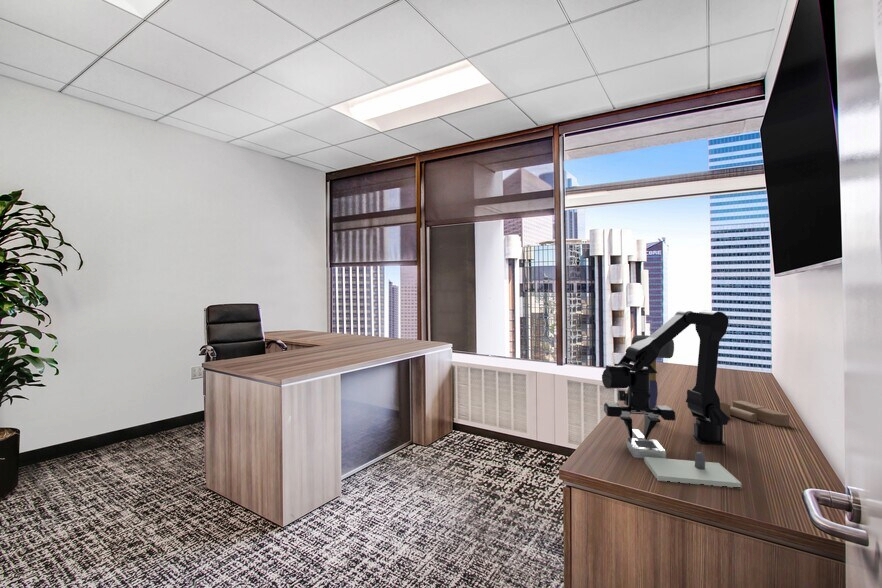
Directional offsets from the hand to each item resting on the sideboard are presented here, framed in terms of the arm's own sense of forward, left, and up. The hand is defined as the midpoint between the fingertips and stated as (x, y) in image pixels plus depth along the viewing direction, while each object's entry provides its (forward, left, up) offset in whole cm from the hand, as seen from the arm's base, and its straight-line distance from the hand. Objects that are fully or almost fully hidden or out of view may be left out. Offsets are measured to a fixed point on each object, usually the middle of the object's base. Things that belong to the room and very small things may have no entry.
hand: (637, 439), depth 122 cm
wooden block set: (-44, -31, -2) cm, 53 cm away
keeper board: (-7, +19, -1) cm, 20 cm away
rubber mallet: (-10, -21, -1) cm, 24 cm away
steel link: (0, +4, -1) cm, 4 cm away
